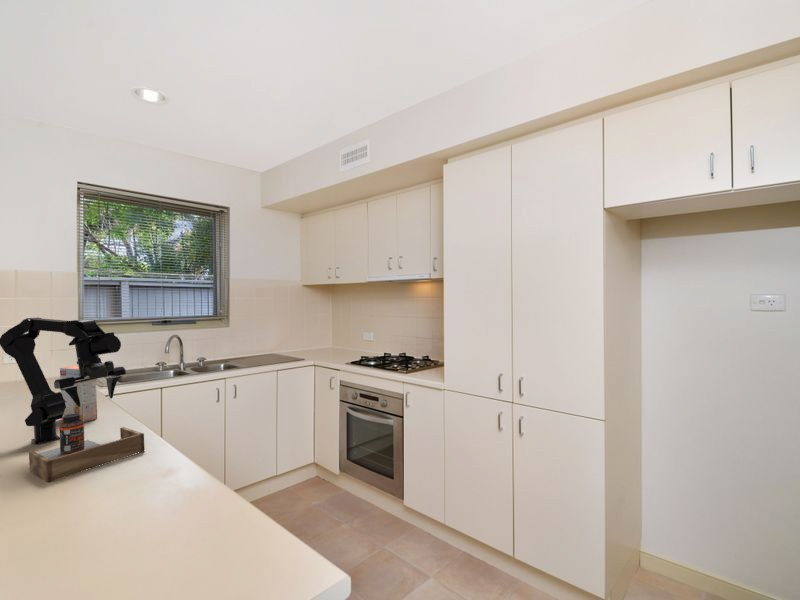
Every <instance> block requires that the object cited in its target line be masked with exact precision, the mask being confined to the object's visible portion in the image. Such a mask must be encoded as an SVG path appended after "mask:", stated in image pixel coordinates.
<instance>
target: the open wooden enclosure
mask: <svg viewBox="0 0 800 600" xmlns="http://www.w3.org/2000/svg"><path fill="white" fill-rule="evenodd" d="M119 430H120V431H119V433H120V439H117V440H114V441H110V442H107V443H104V444H100V445H99V446H96V447H92V448H89V449H85V450H82V451H78V452H75V453H71V454H68V455H64V456H61V457H57V458H54V459H48V458H46V457H44V456H42V455H40V454H38V453H39V452H36V451H34V450H33V451H30V452H28V462H29V464H28V465H29V473H31V474H32V475H34V476H36V477H38V478H39V479H41V480H43V481H44V482H46V483H51V482H54V481H57V480H60V479H63V478H65V477H69V476H73V475H75V473H76V474H78V472H79V473H82V472H85V471H87V470H86V469H88V470H90V469H89V468H91V469H94V468H96V466H97V467H100V466H102V464H103V465H106V464H109V463H111V461H113V462H115V461H114V460H116V461H118V460H117V459H119V460H122V459H124V457H125V458H128V457H131V456H133V454H134V455H136V454H135V453H137V454H139V453H138V452H140V453H142V452H141V451H143V452H145V451H144V450H145V433H143V432H141V431H137V430H134V429H130V428H127V427H125V426H122V427H120V428H119ZM130 455H131V456H130ZM127 456H128V457H127ZM121 458H122V459H121ZM108 462H109V463H108ZM105 463H106V464H105ZM99 465H100V466H99ZM93 467H94V468H93ZM84 470H85V471H84ZM81 471H82V472H81Z"/></svg>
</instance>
